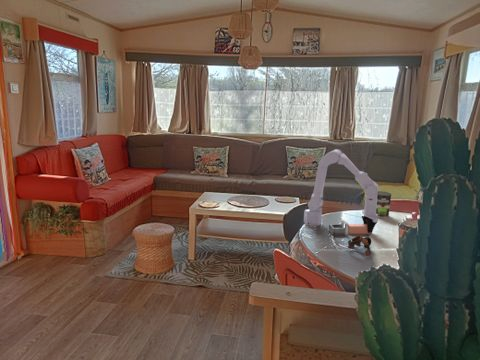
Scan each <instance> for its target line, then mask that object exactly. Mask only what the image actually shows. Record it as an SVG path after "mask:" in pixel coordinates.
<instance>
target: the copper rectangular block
mask: <svg viewBox="0 0 480 360" xmlns="http://www.w3.org/2000/svg"><path fill="white" fill-rule="evenodd" d="M348 233H349V234H369V235H370V234H371V235H372V234H373V232H372V233H368V231H367V224H364V223H348Z"/></svg>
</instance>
